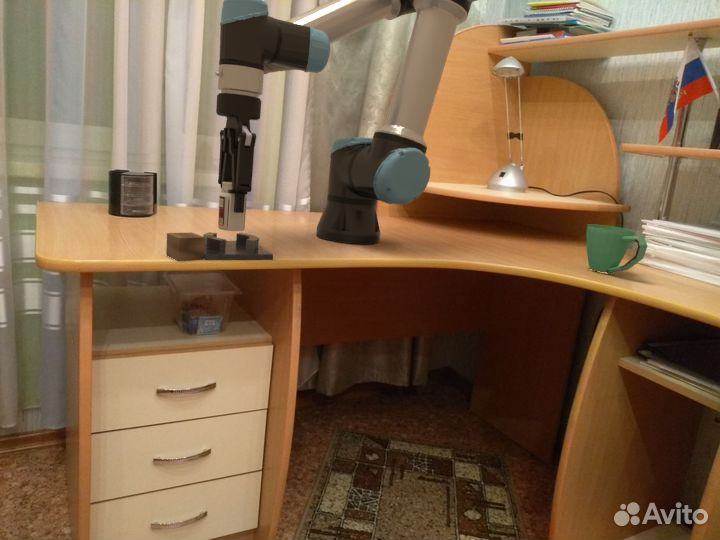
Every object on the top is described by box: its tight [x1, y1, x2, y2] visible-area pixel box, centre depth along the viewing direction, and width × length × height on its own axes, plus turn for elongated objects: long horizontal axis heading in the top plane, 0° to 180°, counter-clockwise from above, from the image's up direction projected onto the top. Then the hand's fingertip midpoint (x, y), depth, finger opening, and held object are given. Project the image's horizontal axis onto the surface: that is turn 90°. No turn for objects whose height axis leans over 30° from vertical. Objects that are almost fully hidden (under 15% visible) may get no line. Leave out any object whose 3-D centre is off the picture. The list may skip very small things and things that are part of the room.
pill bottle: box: [217, 182, 247, 232], centre depth 98 cm, size 5×5×8 cm
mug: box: [585, 223, 648, 274], centre depth 120 cm, size 15×10×10 cm
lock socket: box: [202, 232, 274, 261], centre depth 100 cm, size 12×12×3 cm
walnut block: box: [165, 232, 205, 262], centre depth 92 cm, size 4×4×4 cm
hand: (231, 227), depth 99 cm, fingers closed on pill bottle, 5 cm apart
